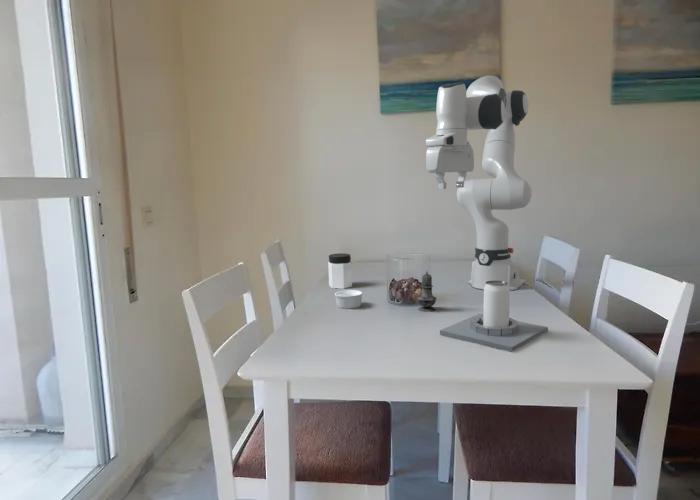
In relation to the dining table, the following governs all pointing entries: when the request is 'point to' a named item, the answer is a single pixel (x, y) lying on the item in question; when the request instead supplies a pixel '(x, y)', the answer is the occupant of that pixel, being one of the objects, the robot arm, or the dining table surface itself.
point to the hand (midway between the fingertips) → (451, 188)
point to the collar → (493, 331)
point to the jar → (340, 271)
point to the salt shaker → (427, 294)
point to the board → (500, 342)
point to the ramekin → (348, 299)
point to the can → (496, 304)
